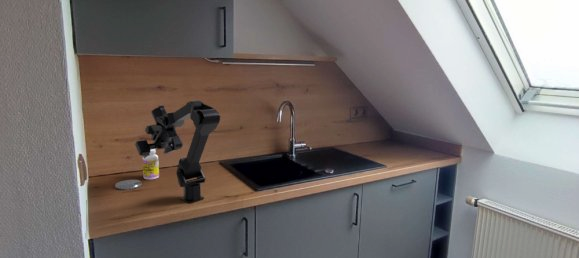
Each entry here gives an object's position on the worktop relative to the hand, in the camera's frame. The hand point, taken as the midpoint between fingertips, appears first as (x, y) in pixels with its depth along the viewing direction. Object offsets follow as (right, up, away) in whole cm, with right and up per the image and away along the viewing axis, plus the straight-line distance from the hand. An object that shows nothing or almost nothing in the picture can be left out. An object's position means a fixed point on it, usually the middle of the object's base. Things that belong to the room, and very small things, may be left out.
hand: (154, 155), depth 161 cm
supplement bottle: (-3, -11, +5) cm, 12 cm away
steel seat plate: (-9, -12, -6) cm, 16 cm away
